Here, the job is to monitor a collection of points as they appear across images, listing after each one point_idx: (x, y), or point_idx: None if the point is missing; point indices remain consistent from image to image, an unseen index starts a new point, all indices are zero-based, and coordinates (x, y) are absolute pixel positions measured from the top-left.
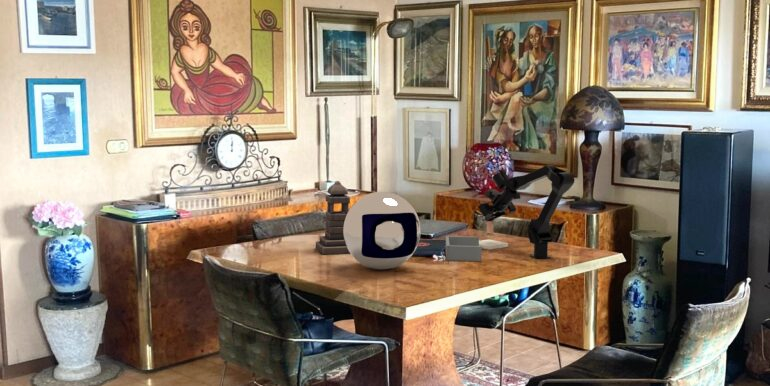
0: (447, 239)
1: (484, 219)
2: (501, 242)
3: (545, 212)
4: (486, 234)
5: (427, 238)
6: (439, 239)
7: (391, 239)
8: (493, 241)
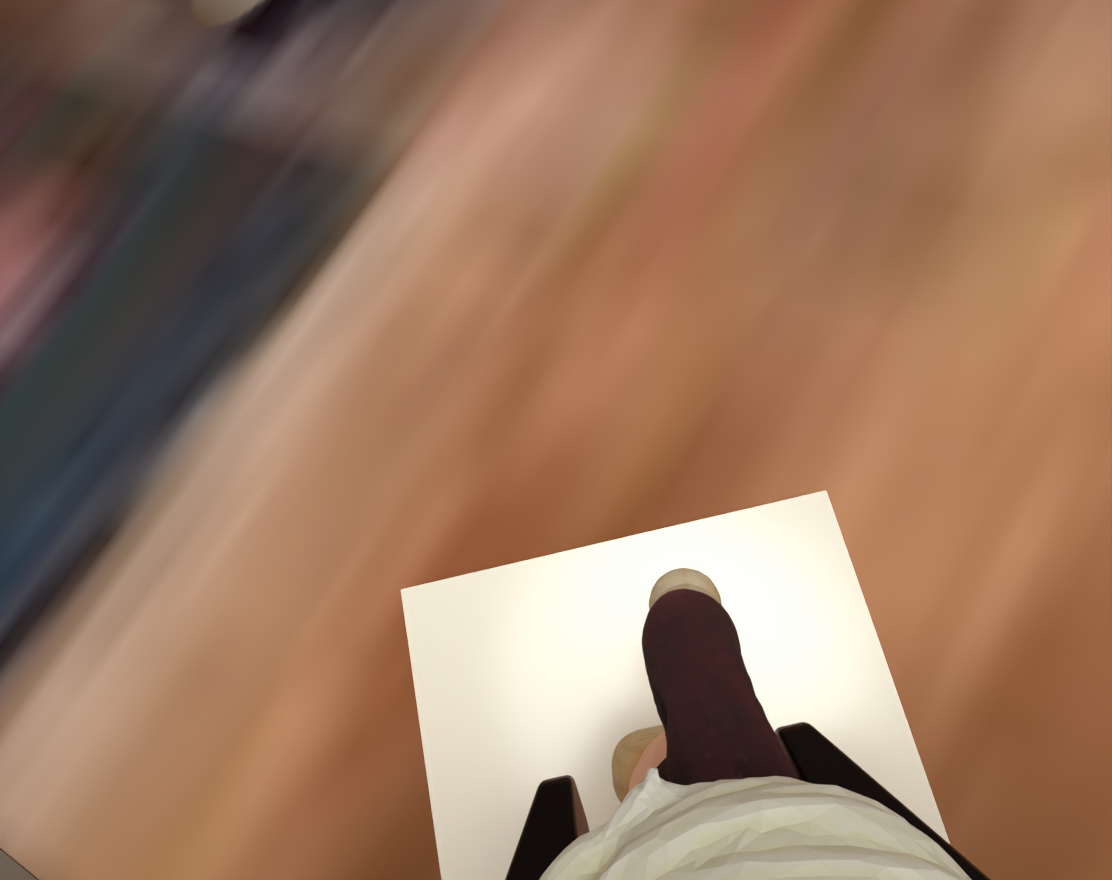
0: None
1: (538, 791)
2: None
3: None
4: (614, 788)
5: (235, 35)
6: (316, 114)
7: None
8: (809, 699)
